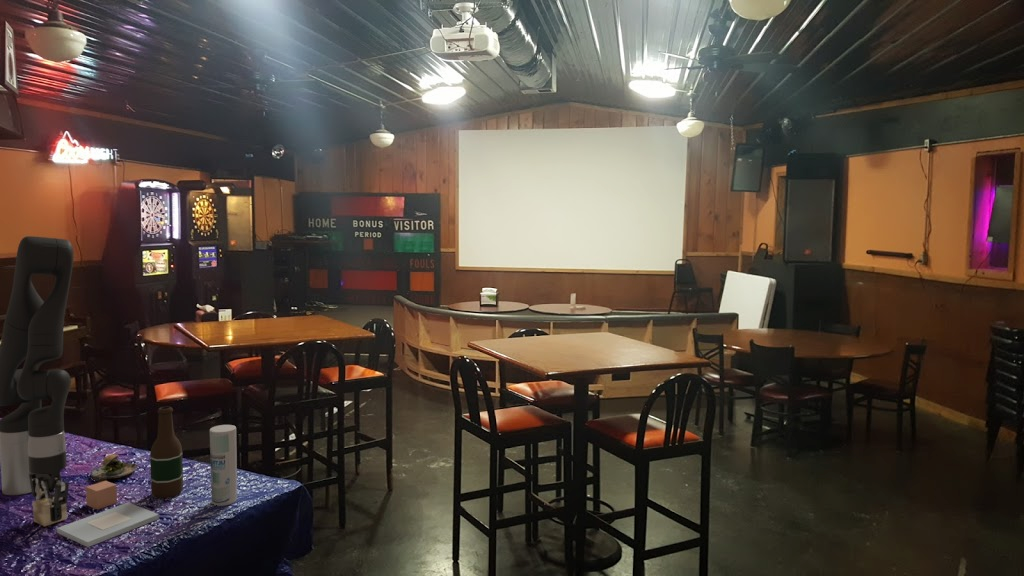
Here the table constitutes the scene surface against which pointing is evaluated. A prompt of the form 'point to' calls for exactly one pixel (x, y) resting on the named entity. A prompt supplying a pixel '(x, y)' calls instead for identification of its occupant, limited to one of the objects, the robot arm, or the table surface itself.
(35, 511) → the maple block
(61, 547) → the table surface
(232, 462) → the spray can
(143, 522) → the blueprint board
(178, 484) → the beer bottle
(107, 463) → the burger
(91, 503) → the terracotta block
